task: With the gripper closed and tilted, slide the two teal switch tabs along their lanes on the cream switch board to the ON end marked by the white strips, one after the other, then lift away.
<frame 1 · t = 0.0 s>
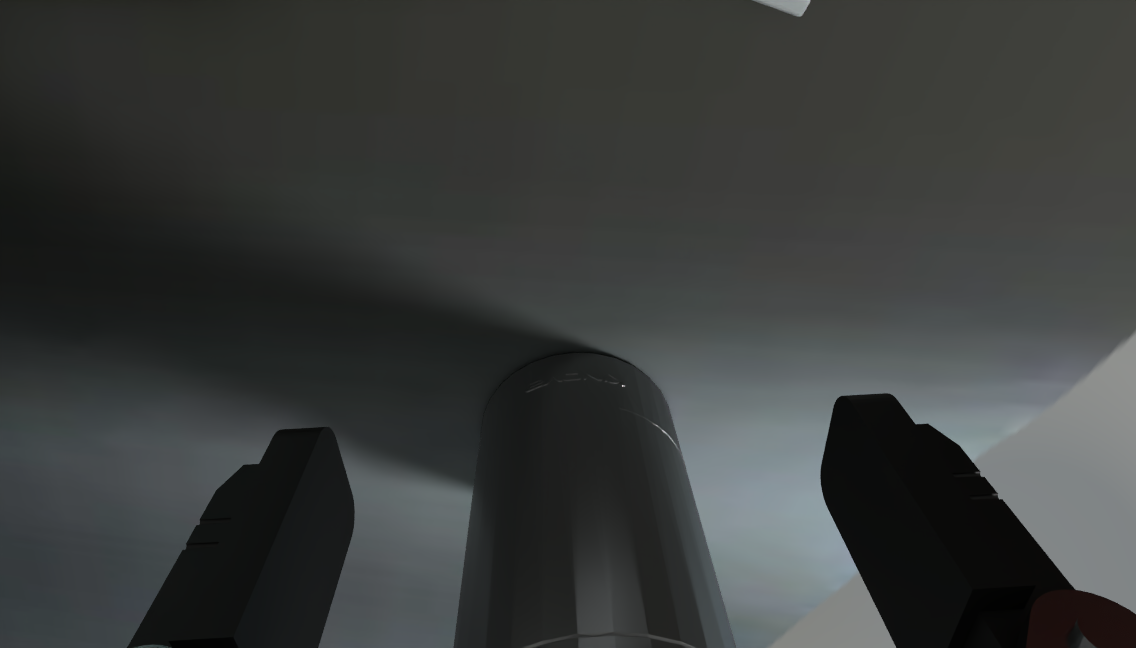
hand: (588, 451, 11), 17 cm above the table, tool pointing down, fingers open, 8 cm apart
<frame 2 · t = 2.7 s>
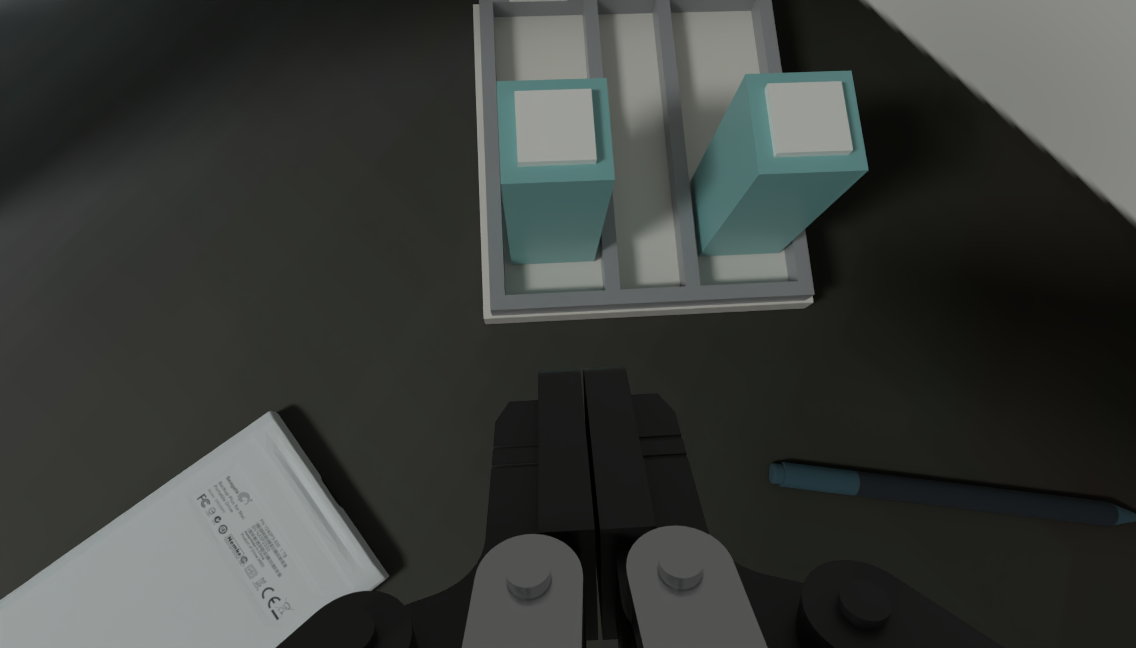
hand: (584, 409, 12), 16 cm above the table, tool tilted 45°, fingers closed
external hard drive: (206, 590, 26), on the table
switch board: (632, 157, 30), on the table
tab 2: (765, 174, 25), point 5 cm above the table, slide at 0.0 cm
pen: (943, 492, 28), on the table
tab 1: (552, 182, 24), point 5 cm above the table, slide at 0.0 cm
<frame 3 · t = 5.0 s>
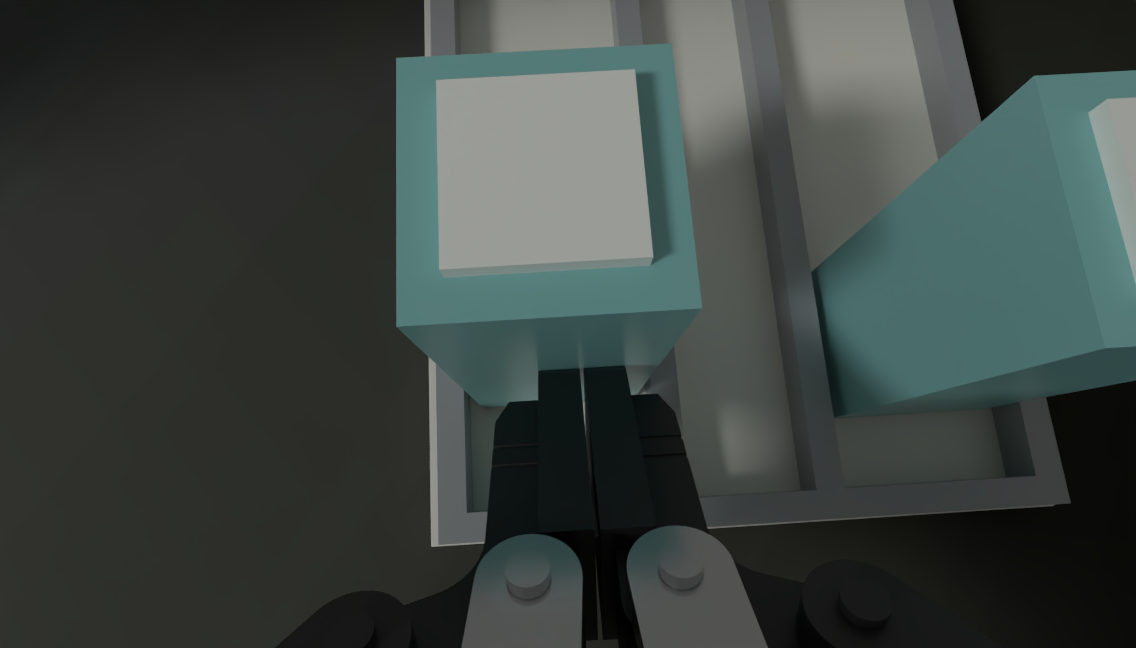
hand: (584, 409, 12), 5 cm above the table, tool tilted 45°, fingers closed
switch board: (699, 228, 18), on the table
tab 2: (1005, 289, 12), point 5 cm above the table, slide at 0.0 cm
tab 1: (549, 275, 12), point 5 cm above the table, slide at 0.7 cm, touching gripper
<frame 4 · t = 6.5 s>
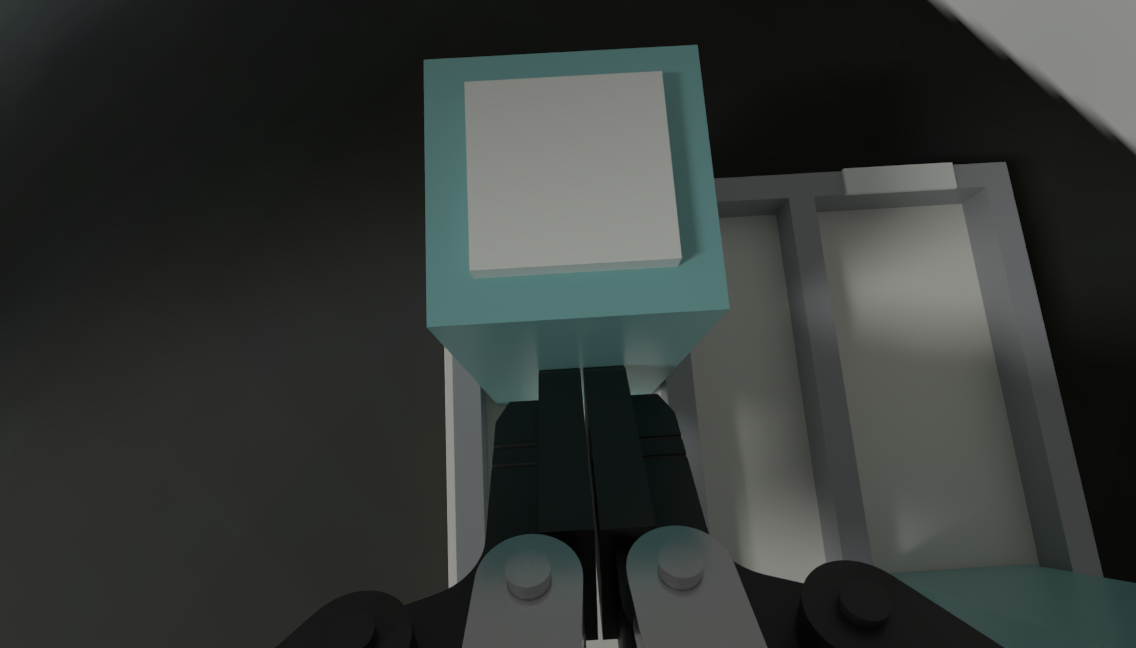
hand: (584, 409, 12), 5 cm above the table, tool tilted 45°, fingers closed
switch board: (745, 497, 16), on the table
tab 1: (569, 275, 12), point 5 cm above the table, slide at 7.7 cm, touching gripper
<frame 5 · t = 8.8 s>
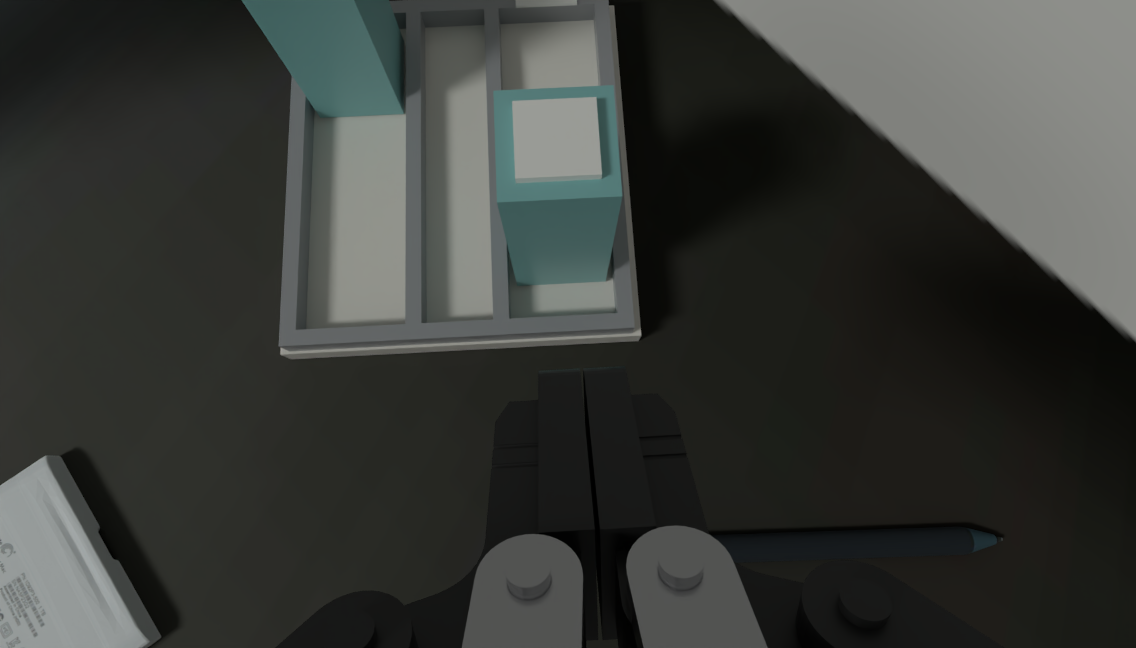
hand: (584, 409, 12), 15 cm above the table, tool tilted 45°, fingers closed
switch board: (462, 178, 28), on the table
tab 2: (558, 198, 23), point 5 cm above the table, slide at 0.0 cm
pen: (785, 542, 26), on the table
tab 1: (329, 12, 24), point 5 cm above the table, slide at 7.8 cm
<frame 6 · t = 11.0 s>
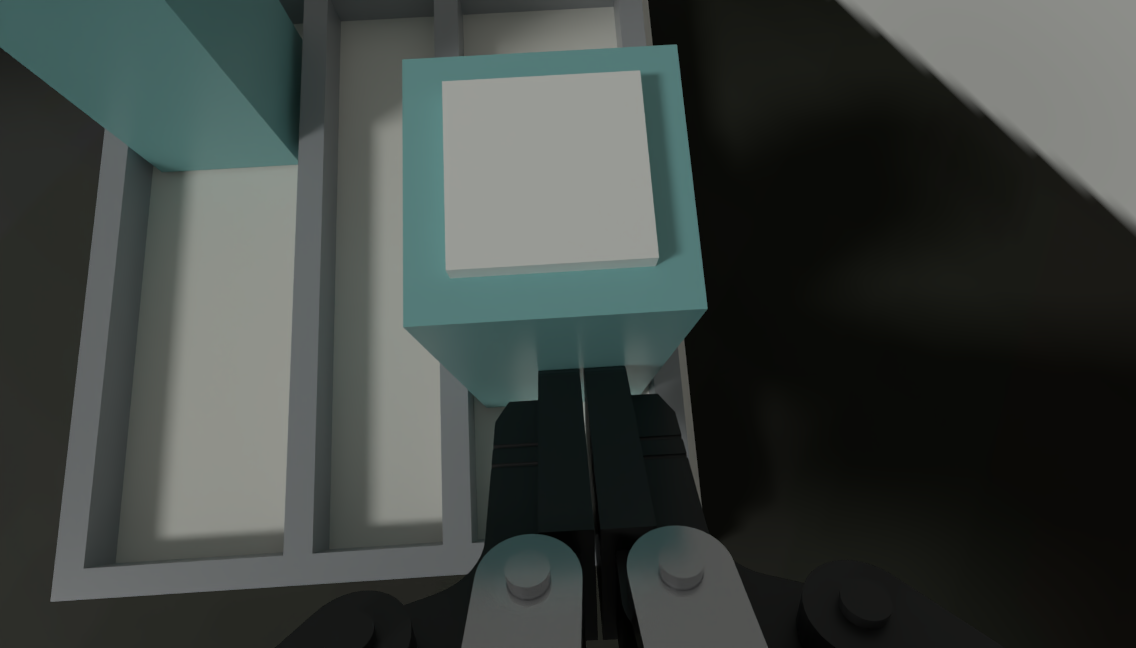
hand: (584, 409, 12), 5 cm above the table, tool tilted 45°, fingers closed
switch board: (400, 268, 17), on the table
tab 2: (554, 276, 12), point 5 cm above the table, slide at 1.4 cm, touching gripper
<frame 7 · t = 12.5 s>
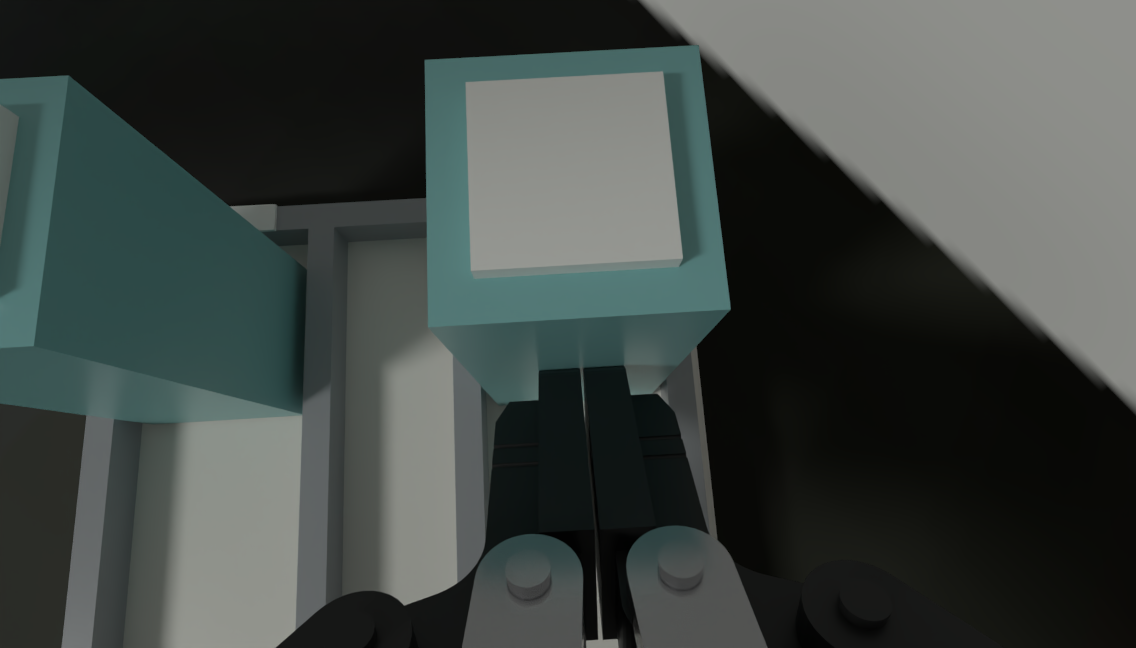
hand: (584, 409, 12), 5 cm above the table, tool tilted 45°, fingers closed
switch board: (413, 521, 16), on the table
tab 2: (569, 275, 12), point 5 cm above the table, slide at 7.8 cm, touching gripper
tab 1: (117, 298, 12), point 5 cm above the table, slide at 7.8 cm
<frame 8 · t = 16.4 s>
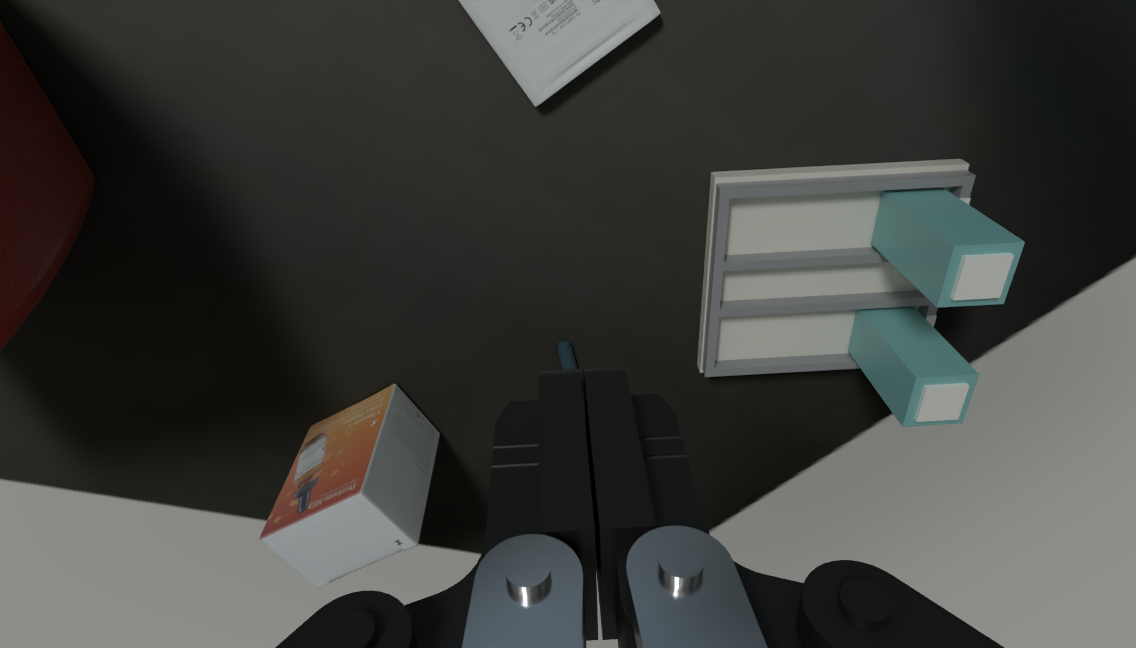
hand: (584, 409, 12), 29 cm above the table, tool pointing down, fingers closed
small box: (375, 427, 49), on the table
switch board: (817, 270, 43), on the table
tab 2: (907, 362, 41), point 5 cm above the table, slide at 7.8 cm
pen: (586, 421, 50), on the table
tab 1: (940, 243, 37), point 5 cm above the table, slide at 7.8 cm
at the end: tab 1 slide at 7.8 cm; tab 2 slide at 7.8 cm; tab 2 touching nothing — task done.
